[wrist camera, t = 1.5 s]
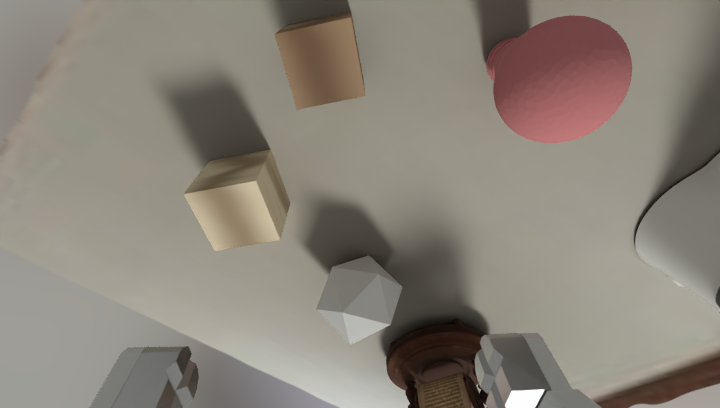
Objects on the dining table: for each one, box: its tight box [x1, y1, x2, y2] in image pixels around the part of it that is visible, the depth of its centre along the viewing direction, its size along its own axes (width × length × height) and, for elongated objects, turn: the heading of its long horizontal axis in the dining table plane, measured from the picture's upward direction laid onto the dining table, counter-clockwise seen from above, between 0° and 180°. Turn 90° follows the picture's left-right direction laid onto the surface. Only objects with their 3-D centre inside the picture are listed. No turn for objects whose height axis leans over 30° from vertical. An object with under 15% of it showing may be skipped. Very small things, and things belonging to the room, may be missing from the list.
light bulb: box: [486, 16, 632, 143], centre depth 23 cm, size 7×7×12 cm
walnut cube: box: [275, 11, 365, 109], centre depth 25 cm, size 5×5×5 cm
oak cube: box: [184, 149, 290, 251], centre depth 31 cm, size 6×6×6 cm
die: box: [316, 255, 402, 345], centre depth 37 cm, size 8×9×10 cm
